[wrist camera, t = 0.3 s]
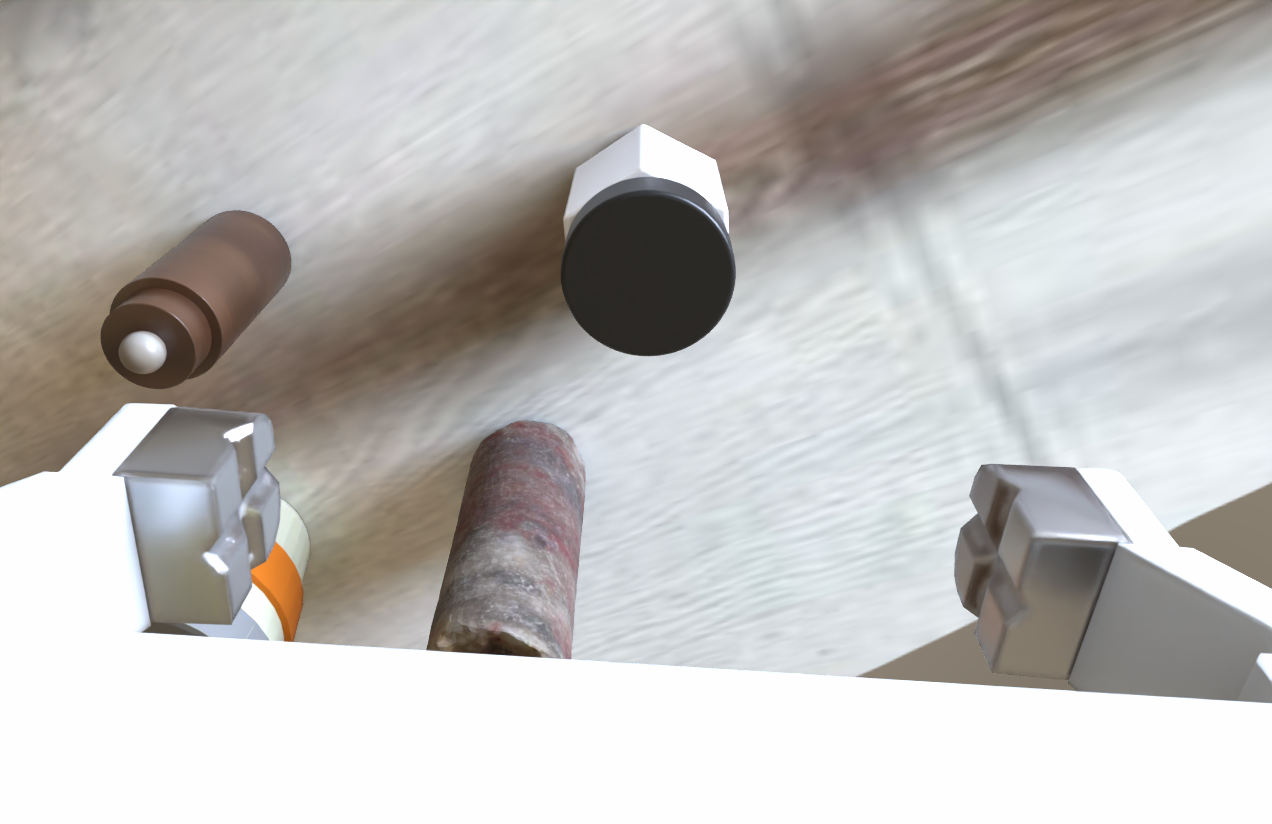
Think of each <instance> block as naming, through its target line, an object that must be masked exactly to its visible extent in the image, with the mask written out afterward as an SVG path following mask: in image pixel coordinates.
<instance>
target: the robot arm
mask: <svg viewBox="0 0 1272 824" xmlns="http://www.w3.org/2000/svg"><path fill="white" fill-rule="evenodd" d="M274 451H275V441H274V434H273V427H272V422H271V421H270V419H269V418H268V416H267V415H266V414H264V413H252V412H241V411H230V410H218V409H207V408H195V407H184V406H178V407H177V406H175V405H167V404H144V403H131V404H125V405H124V406H123V407H122V408H121V409H120V410H119V411H118V412H117V413H116V414H115V415H114V416H113V417H112V418H111V419H110V420H109V421H108V422H107V423H106V424H105V425H104V426H103V427H102V428H101V429H100V430H99V431H98V432H97V433H96V434H95V435H94V437H93V438H92V439H91V440H90V441H89V442H88V443H87V444H86V445H85V446H84V447H83V448H82V449H81V450H80V451H79V452H78V453H77V454H76V455H75V456H74V457H73V458H72V459H71V460H70V461H69V462H68V463H67V464H66V465H65V466H64V467H63V468H62V469H61V470H60V471H59V472H41V473H38V474H36V475H33V476H30V477H27V478H25V479H22V480H19V481H17V482H14V483H11V484H8V485H6V486H3V487H0V824H1272V589H1270V588H1268V587H1266V586H1264V585H1262V584H1260V583H1259V582H1257V581H1255V580H1253V579H1251V578H1249V577H1247V576H1245V575H1243V574H1241V573H1239V572H1237V571H1236V570H1233V569H1232V568H1230V567H1228V566H1226V565H1224V564H1222V563H1220V562H1218V561H1216V560H1214V559H1213V558H1211V557H1209V556H1207V555H1205V554H1203V553H1201V552H1199V551H1197V550H1195V549H1193V548H1181V547H1179V546H1178V545H1177V544H1176V543H1175V541H1174V540H1173V539H1172V538H1171V536H1170V535H1169V534H1168V532H1167V531H1166V530H1165V529H1164V527H1163V526H1162V525H1161V524H1160V522H1159V521H1158V520H1157V519H1156V517H1155V516H1154V515H1153V513H1152V512H1151V511H1150V510H1149V508H1148V507H1147V506H1146V505H1145V503H1144V502H1143V501H1142V500H1141V498H1140V497H1139V496H1138V495H1137V493H1136V492H1135V491H1134V489H1133V488H1132V487H1131V486H1130V484H1129V483H1128V482H1127V481H1126V479H1125V478H1124V477H1123V476H1122V474H1121V473H1119V472H1116V471H1114V470H1112V469H1085V468H1070V467H1048V466H1025V465H1003V464H986V465H981V467H980V469H979V470H978V472H977V474H976V476H975V478H974V481H973V485H972V488H971V492H970V495H969V496H970V498H971V500H972V502H973V504H974V506H975V508H976V510H977V512H978V514H976V515H975V516H974V517H973V518H972V519H971V520H970V521H968V522H967V523H966V524H965V525H964V526H963V527H962V528H961V529H960V533H959V537H958V542H957V546H956V550H955V570H954V576H955V582H956V587H957V592H958V595H959V597H960V600H961V602H962V605H963V607H964V608H966V609H967V610H968V611H970V612H971V613H973V614H974V615H975V616H977V617H978V622H977V626H976V629H975V635H976V637H977V640H978V642H979V644H980V646H981V648H982V651H983V653H984V656H985V658H986V660H987V662H988V665H989V667H990V669H991V671H992V673H997V674H1009V675H1019V676H1030V677H1042V678H1053V679H1065V680H1069V681H1068V684H1070V685H1071V686H1072V687H1073V688H1074V689H1075V690H1076V691H1066V690H1049V689H1034V688H1017V687H1002V686H1001V687H1000V686H985V685H969V684H952V683H936V682H921V681H905V680H890V679H873V678H858V677H842V676H825V675H809V674H793V673H777V672H761V671H745V670H729V669H713V668H697V667H682V666H666V665H650V664H634V663H618V662H602V661H586V660H570V659H554V658H538V657H522V656H506V655H490V654H474V653H458V652H442V651H426V650H411V649H395V648H379V647H363V646H347V645H331V644H315V643H299V642H283V641H267V640H251V639H235V638H219V637H203V636H187V635H171V634H155V633H141V632H143V631H144V630H146V629H147V628H149V627H150V626H151V622H162V623H189V624H217V625H232V623H233V621H234V619H235V617H236V616H237V614H238V612H239V610H240V608H241V606H242V605H243V603H244V601H245V599H246V597H247V596H248V594H249V592H250V590H251V588H252V587H253V586H252V577H251V570H252V569H254V568H255V567H257V566H259V565H261V564H263V563H264V562H266V561H267V559H268V557H269V555H270V553H271V551H272V549H273V547H274V545H275V541H276V537H277V532H278V528H279V524H280V509H281V498H280V487H279V482H278V481H277V480H276V479H275V477H274V476H273V475H272V474H271V473H270V472H269V471H268V469H267V468H266V467H265V465H266V464H267V462H268V460H269V459H270V457H271V456H272V454H273V452H274Z"/></svg>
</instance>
